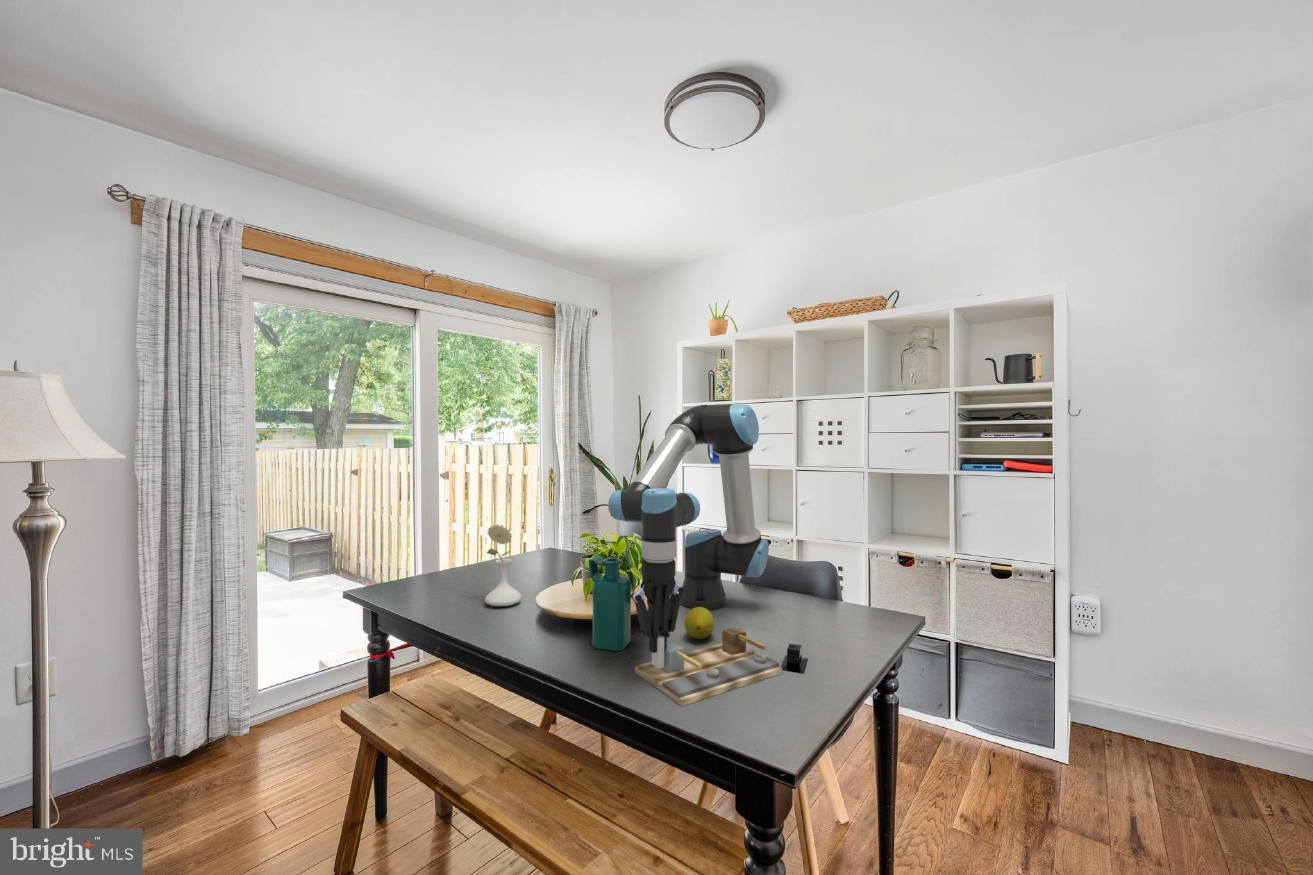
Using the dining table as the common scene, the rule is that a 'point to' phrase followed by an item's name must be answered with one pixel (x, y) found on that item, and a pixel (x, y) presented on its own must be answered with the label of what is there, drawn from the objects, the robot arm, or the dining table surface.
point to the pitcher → (610, 605)
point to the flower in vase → (501, 571)
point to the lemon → (699, 623)
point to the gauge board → (706, 692)
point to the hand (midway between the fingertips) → (657, 665)
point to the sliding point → (677, 658)
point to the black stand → (794, 660)
